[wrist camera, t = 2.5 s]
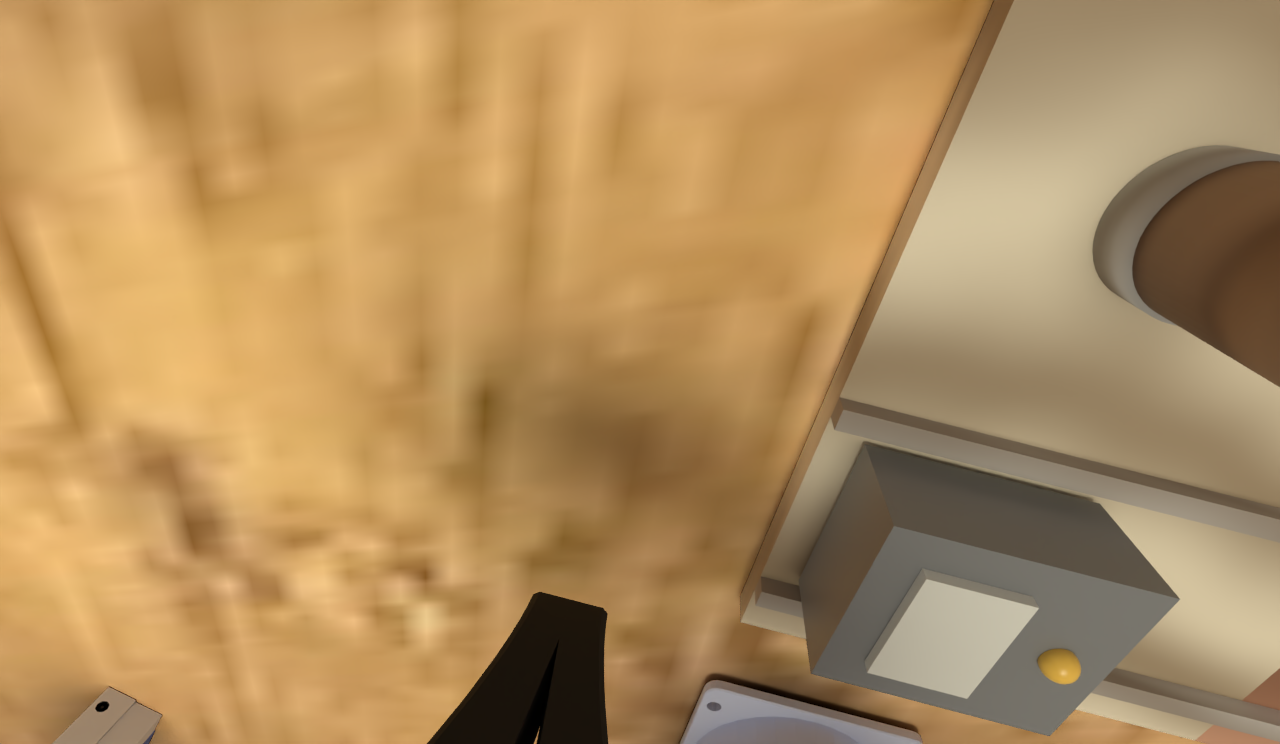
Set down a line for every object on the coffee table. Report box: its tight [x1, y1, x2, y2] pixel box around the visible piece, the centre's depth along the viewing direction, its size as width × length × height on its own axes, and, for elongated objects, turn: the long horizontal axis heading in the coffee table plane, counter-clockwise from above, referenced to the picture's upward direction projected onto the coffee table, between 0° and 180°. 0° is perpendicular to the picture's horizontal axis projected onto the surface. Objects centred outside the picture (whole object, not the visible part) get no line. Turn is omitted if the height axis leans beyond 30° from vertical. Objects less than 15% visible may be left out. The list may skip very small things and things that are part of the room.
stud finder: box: [799, 444, 1180, 736], centre depth 14 cm, size 5×6×4 cm
